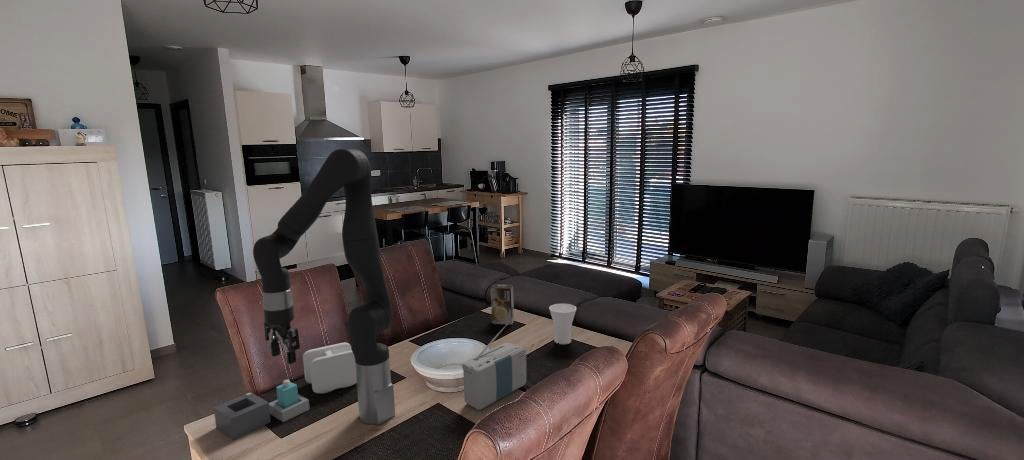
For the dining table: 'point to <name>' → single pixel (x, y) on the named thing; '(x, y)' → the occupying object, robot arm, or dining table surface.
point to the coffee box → (502, 304)
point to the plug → (287, 394)
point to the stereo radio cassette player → (494, 374)
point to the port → (242, 415)
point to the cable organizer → (330, 367)
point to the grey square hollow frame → (289, 409)
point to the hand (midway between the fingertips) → (283, 359)
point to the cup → (562, 321)
